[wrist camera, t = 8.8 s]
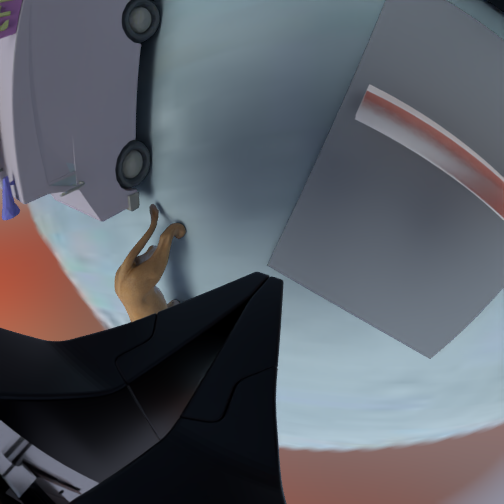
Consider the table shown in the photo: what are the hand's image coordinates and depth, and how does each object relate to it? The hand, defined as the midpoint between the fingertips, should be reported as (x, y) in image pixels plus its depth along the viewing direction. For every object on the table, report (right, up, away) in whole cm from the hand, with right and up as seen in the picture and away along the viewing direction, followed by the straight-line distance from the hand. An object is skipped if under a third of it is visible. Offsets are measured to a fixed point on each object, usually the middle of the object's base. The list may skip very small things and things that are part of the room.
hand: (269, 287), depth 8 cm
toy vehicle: (-11, +15, +9) cm, 21 cm away
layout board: (+10, +4, +4) cm, 12 cm away
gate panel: (+9, +6, +3) cm, 12 cm away
